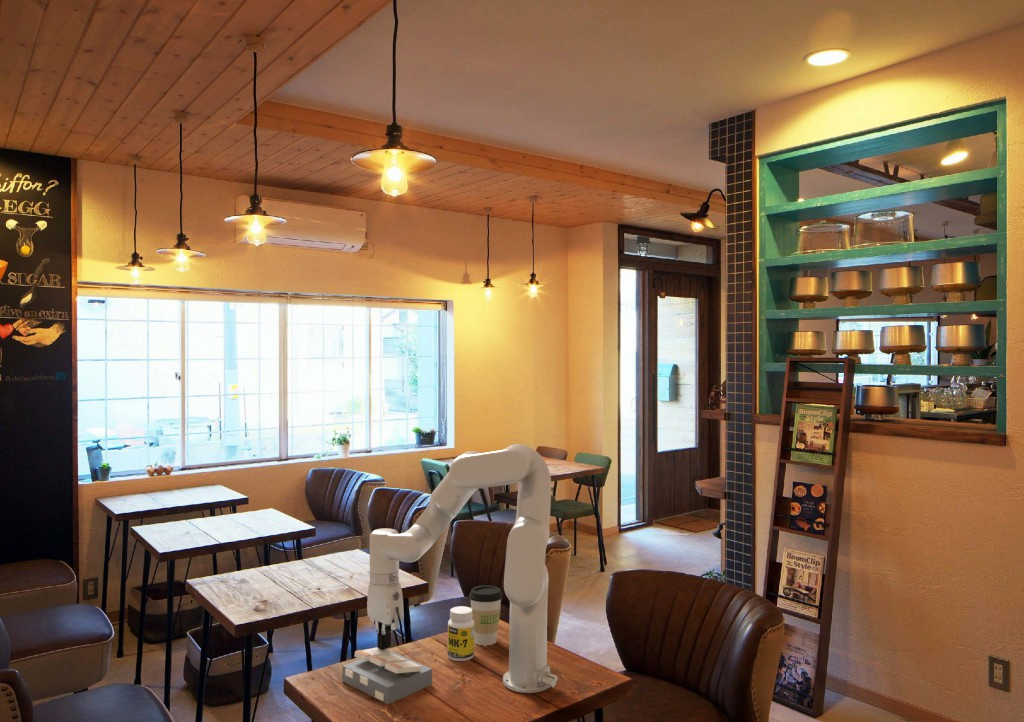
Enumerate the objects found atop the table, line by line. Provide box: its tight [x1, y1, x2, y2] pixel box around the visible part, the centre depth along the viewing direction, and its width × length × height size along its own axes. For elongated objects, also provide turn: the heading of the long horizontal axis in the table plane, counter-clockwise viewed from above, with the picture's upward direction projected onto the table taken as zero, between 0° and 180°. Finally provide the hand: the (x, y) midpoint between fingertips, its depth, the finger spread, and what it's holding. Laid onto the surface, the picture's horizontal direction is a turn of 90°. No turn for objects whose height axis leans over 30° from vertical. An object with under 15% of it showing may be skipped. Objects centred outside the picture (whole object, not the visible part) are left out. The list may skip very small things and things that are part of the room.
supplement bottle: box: [446, 605, 475, 662], centre depth 195 cm, size 7×7×13 cm
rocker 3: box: [385, 661, 422, 673], centre depth 175 cm, size 4×8×1 cm, turn 139°
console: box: [341, 648, 433, 705], centre depth 179 cm, size 18×14×5 cm
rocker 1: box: [354, 646, 391, 661], centre depth 183 cm, size 4×8×1 cm, turn 139°
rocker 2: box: [370, 655, 406, 666], centre depth 179 cm, size 4×8×1 cm, turn 139°
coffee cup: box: [468, 584, 504, 647], centre depth 206 cm, size 10×10×15 cm
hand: (384, 647), depth 185 cm, fingers closed
